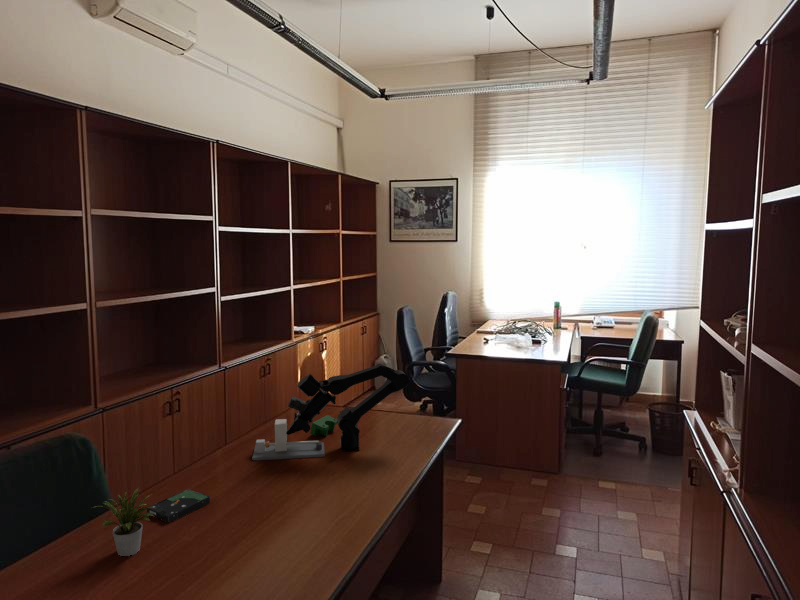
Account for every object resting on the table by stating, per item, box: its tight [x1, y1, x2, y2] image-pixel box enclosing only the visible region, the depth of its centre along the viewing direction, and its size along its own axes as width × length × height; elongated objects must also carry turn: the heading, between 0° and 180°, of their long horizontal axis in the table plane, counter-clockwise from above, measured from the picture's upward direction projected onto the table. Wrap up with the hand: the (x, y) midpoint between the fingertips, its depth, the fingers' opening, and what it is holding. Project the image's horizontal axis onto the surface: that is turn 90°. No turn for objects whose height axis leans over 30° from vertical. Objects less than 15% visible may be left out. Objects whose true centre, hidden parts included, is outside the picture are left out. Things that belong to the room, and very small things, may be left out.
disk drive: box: [146, 488, 211, 524], centre depth 172 cm, size 10×3×15 cm
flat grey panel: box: [251, 439, 326, 461], centre depth 216 cm, size 26×12×5 cm, turn 99°
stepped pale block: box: [274, 418, 288, 452], centre depth 215 cm, size 4×6×10 cm, turn 9°
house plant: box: [91, 487, 154, 557], centre depth 147 cm, size 14×14×16 cm
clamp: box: [309, 414, 338, 437], centre depth 237 cm, size 12×6×9 cm, turn 148°
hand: (287, 434), depth 216 cm, fingers closed, pressing on stepped pale block
